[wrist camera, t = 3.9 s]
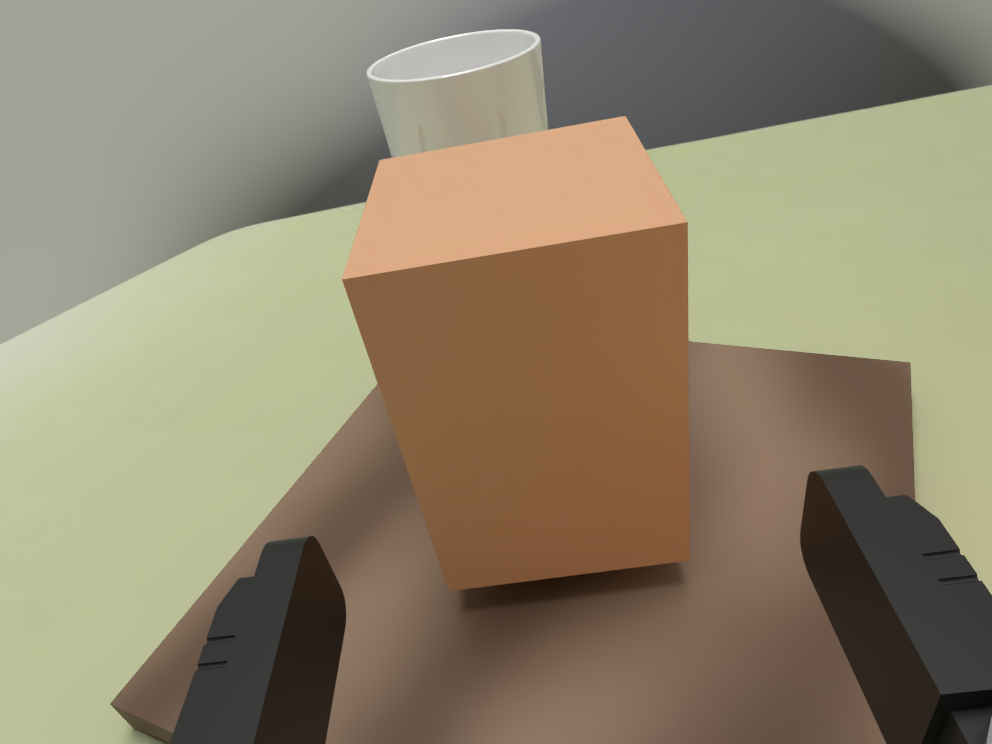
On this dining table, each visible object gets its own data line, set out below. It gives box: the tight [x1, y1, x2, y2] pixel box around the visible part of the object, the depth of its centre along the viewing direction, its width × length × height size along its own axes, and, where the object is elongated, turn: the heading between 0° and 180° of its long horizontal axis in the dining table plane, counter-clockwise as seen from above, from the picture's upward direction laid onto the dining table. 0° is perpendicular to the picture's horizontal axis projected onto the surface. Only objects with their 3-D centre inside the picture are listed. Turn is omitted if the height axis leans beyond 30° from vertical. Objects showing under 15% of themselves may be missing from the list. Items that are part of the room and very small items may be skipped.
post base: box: [110, 341, 915, 744], centre depth 18 cm, size 18×18×10 cm
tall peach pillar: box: [342, 116, 690, 591], centre depth 17 cm, size 6×6×9 cm
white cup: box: [366, 29, 548, 158], centre depth 34 cm, size 8×8×10 cm
